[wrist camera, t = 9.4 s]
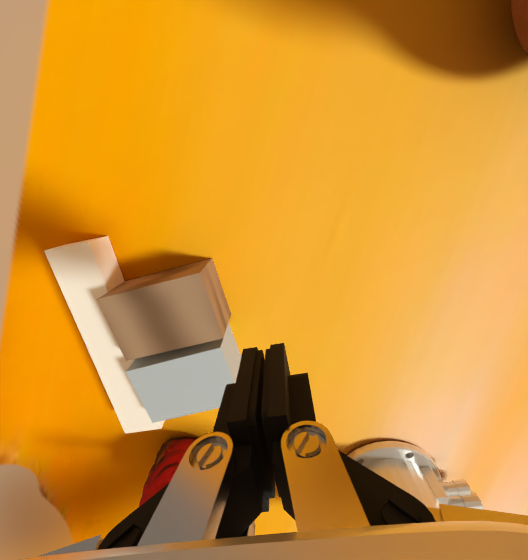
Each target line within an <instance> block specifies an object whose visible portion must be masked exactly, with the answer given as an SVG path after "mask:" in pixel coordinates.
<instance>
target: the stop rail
mask: <svg viewBox="0 0 528 560" xmlns="http://www.w3.org/2000/svg"><path fill="white" fill-rule="evenodd" d="M44 252H45V254H46V257H47V259H48V261H49V263H50V266H51V268H52V270H53V272H54V275H55V277H56V279H57V281H58V284H59V286H60V288H61V290H62V293H63V295H64V297H65V299H66V302H67V304H68V306H69V308H70V311H71V313H72V315H73V317H74V320H75V322H76V324H77V326H78V329H79V331H80V333H81V335H82V338H83V340H84V342H85V344H86V347H87V349H88V351H89V353H90V356H91V358H92V360H93V362H94V365H95V367H96V369H97V371H98V374H99V376H100V378H101V380H102V383H103V385H104V387H105V389H106V392H107V394H108V396H109V398H110V400H111V403H112V405H113V407H114V409H115V412H116V414H117V416H118V418H119V421H120V423H121V425H122V427H123V430H124V432H125V434H126V433H133V432H141V431H148V430H155V429H161V428H162V426H163V424H164V422H165V420H163V421H159V422H155V423H152V421H151V419H150V417H149V415H148V413H147V411H146V410H145V408H144V406H143V404H142V402H141V400H140V398H139V396H138V394H137V393H136V391H135V389H134V387H133V385H132V383H131V381H130V379H129V377H128V376H127V374H126V370H127V369H128V368H129V367H130V365H131V364H132V363H133V362H134V360H135V359H132V360H128V361H126V360H125V358H124V356H123V354H122V352H121V350H120V348H119V346H118V343H117V341H116V339H115V337H114V335H113V333H112V331H111V329H110V327H109V325H108V323H107V321H106V319H105V317H104V315H103V313H102V311H101V309H100V307H99V305H98V302H97V300H96V299H98V298H100V297H101V296H103V295H104V294H106V293H107V292H109V291H110V290H112V289H114V288H115V287H117V286H118V285H120V284H121V283H123V282H125V280H124V278H123V275H122V272H121V270H120V267H119V264H118V261H117V259H116V256H115V253H114V251H113V248H112V245H111V242H110V240H109V237H108V236H104V237H99V238H94V239H89V240H84V241H80V242H75V243H70V244H66V245H62V246H58V247H55V248H51V249H48V250H44Z"/></svg>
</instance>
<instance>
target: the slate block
mask: <svg viewBox="0 0 528 560" xmlns="http://www.w3.org/2000/svg"><path fill="white" fill-rule="evenodd" d="M240 361H241V354H240V352H239V349H238V346H237V344H236V341H235V338H234V336H233V333H232V330H231V328H230V325H229V322H228V325H227V328H226V331H225V334H224V337H223V339H219V340H214V341H210V342H206V343H201V344H197V345H193V346H188V347H184V348H180V349H175V350H171V351H167V352H162V353H158V354H154V355H149V356H145V357H141V358H137V359H135V360H134V362H133V363H132V364H131V365H130V367H129V368H128V369H127V370H126V374H127V376H128V377H129V379H130V381H131V383H132V385H133V387H134V389H135V391H136V393H137V394H138V396H139V398H140V400H141V402H142V404H143V406H144V408H145V410H146V411H147V413H148V415H149V417H150V419H151V421H152V423H155V422H159V421H163V420H168V419H172V418H177V417H181V416H185V415H190V414H194V413H198V412H203V411H207V410H212V409H216V408H220V405H221V401H222V397H223V394H224V390H225V387H226V385H227V384H232V383H236V379H237V374H238V370H239V366H240Z"/></svg>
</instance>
